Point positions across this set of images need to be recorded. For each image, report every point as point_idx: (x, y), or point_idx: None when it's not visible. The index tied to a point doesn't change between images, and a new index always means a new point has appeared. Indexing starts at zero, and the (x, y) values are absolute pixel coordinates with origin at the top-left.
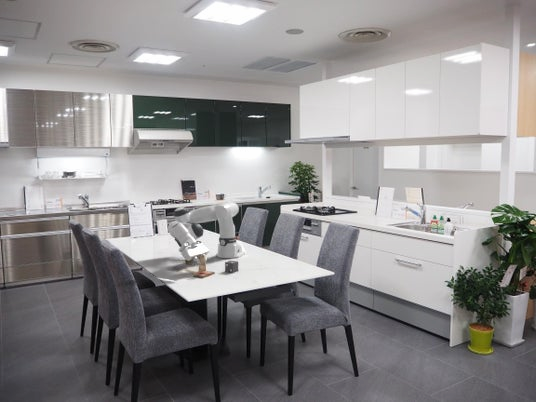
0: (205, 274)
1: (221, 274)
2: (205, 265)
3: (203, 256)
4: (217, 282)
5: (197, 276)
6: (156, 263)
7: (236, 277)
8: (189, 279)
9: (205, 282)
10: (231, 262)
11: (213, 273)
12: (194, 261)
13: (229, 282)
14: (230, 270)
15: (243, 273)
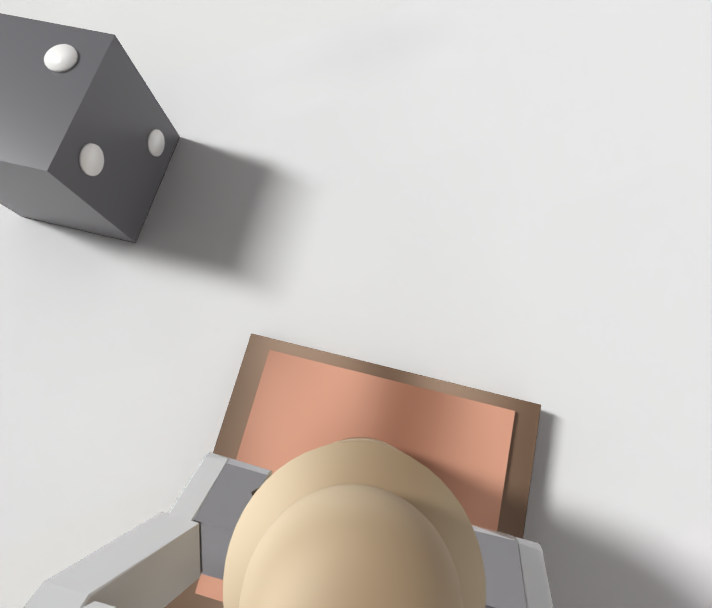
0: (433, 407)
1: (273, 241)
2: (362, 438)
3: (409, 506)
4: (630, 162)
5: (521, 512)
6: None
7: (360, 49)
8: (670, 591)
9: (698, 293)
10: (44, 76)
11: (283, 343)
12: None
13: (574, 52)
14: (154, 152)
15: (179, 35)
